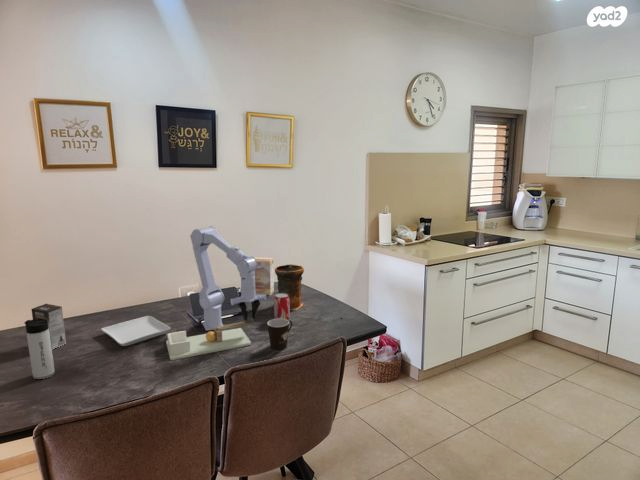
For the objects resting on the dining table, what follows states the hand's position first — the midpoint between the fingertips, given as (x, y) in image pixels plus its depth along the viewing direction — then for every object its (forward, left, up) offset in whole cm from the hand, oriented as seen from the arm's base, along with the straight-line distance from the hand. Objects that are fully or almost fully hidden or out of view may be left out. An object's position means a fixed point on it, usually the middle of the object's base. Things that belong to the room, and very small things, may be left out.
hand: (249, 318), depth 172 cm
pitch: (0, -17, -8) cm, 19 cm away
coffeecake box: (-53, +20, -8) cm, 57 cm away
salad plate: (-22, -43, -8) cm, 49 cm away
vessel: (-27, +28, -8) cm, 40 cm away
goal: (0, -28, -7) cm, 29 cm away
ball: (0, -16, -5) cm, 17 cm away
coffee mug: (+14, +9, -8) cm, 19 cm away
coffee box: (-25, -74, -8) cm, 78 cm away
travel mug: (+1, -73, -8) cm, 73 cm away
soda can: (-11, +18, -8) cm, 23 cm away
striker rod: (0, -6, -7) cm, 9 cm away
